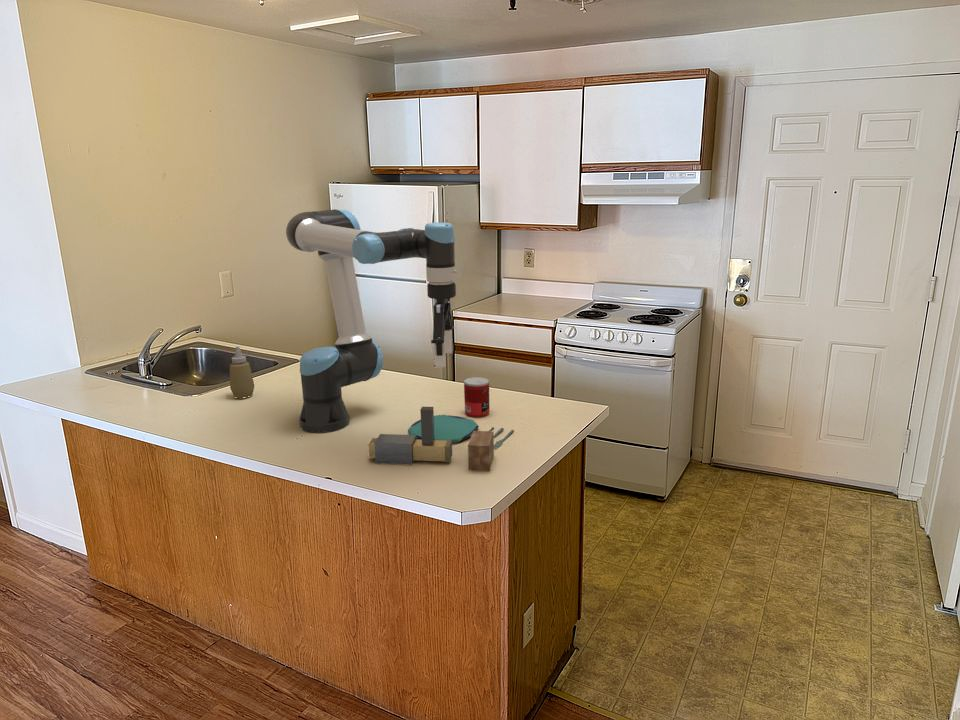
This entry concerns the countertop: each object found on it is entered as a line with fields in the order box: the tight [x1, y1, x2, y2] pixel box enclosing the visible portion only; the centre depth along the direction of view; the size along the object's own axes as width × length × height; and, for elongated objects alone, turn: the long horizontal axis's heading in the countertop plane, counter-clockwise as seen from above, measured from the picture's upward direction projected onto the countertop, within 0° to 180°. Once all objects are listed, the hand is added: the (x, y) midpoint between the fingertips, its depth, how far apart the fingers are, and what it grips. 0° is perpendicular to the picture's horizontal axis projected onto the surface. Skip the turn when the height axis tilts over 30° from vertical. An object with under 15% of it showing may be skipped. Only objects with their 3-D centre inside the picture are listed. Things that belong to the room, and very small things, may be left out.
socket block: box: [467, 430, 495, 472], centre depth 182 cm, size 6×10×7 cm, turn 172°
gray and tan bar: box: [367, 406, 453, 463], centre depth 183 cm, size 22×4×14 cm, turn 82°
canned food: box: [463, 377, 490, 418], centre depth 217 cm, size 8×8×11 cm
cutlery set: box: [407, 414, 515, 451], centre depth 202 cm, size 20×30×2 cm, turn 64°
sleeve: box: [374, 433, 417, 466], centre depth 185 cm, size 10×6×6 cm, turn 82°
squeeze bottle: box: [229, 346, 255, 399], centre depth 237 cm, size 8×8×18 cm
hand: (444, 359), depth 187 cm, fingers open, 13 cm apart
